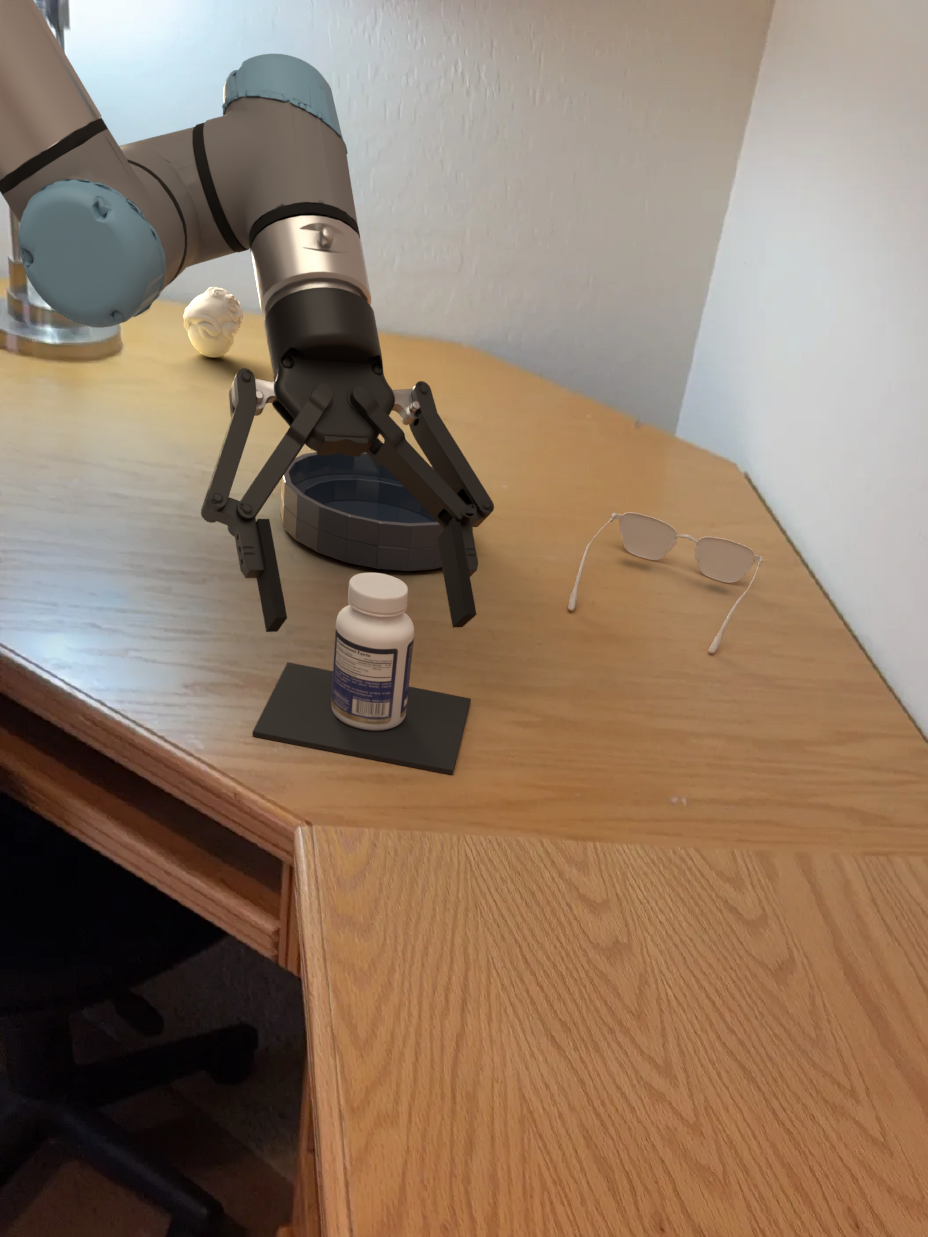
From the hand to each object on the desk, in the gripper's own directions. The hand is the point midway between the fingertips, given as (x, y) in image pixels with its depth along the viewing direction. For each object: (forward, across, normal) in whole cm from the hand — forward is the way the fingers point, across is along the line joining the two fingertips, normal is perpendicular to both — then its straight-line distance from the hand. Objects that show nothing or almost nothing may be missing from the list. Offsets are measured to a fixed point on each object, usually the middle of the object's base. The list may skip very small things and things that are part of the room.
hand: (374, 623), depth 88 cm
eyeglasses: (-8, +36, +18) cm, 41 cm away
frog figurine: (-52, +11, +64) cm, 83 cm away
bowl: (-18, +13, +28) cm, 36 cm away
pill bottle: (+5, 0, +6) cm, 7 cm away
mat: (+5, 0, +6) cm, 8 cm away
